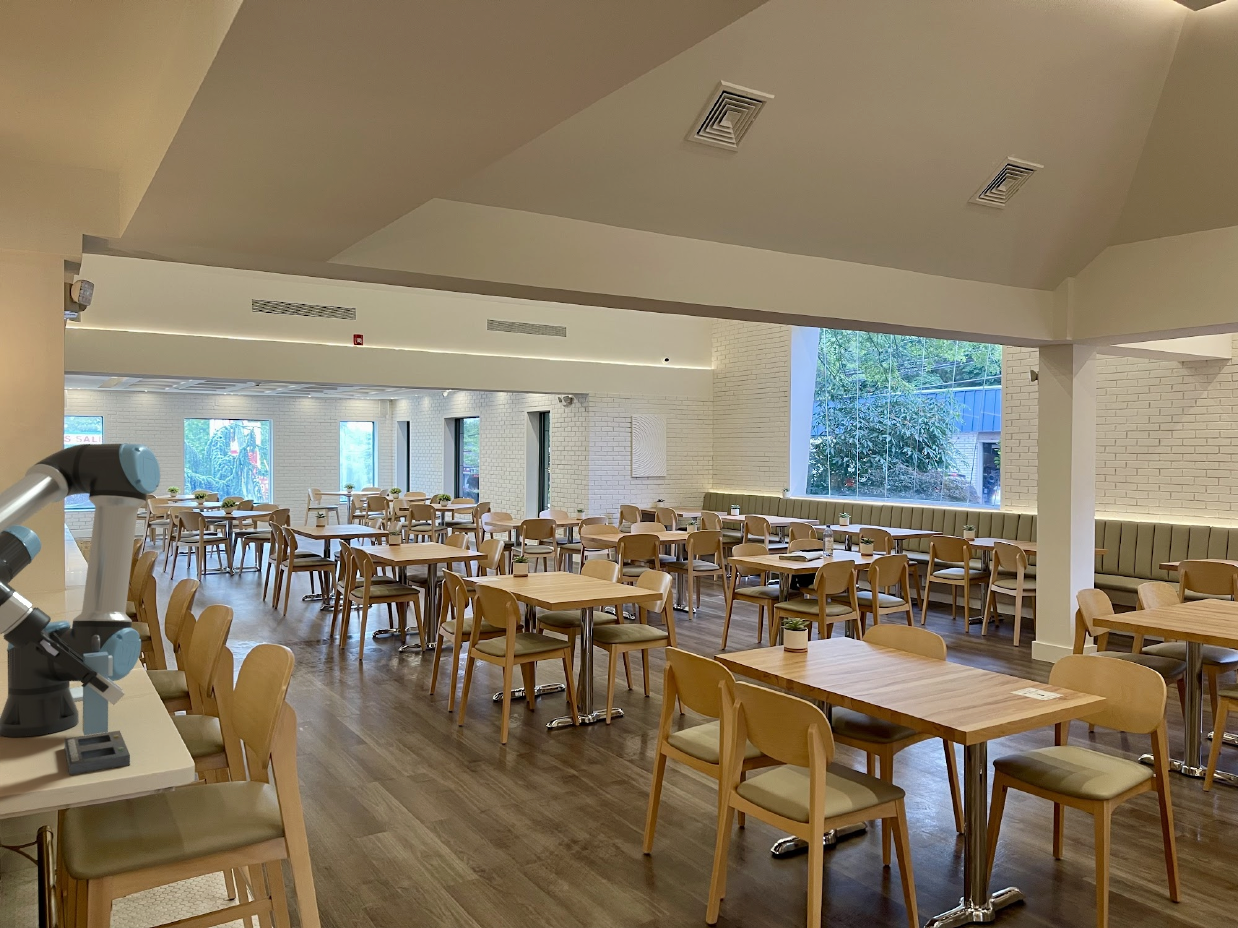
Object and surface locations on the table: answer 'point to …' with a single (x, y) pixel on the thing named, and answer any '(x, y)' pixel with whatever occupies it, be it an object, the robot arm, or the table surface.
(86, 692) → the plug
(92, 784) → the table surface
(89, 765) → the port panel
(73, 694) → the hard drive
